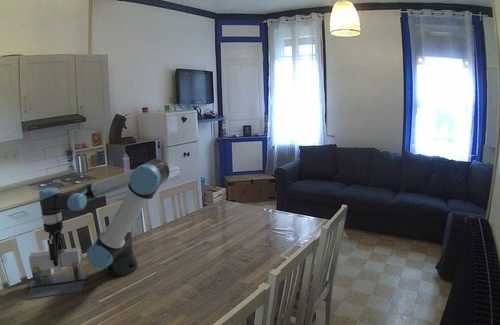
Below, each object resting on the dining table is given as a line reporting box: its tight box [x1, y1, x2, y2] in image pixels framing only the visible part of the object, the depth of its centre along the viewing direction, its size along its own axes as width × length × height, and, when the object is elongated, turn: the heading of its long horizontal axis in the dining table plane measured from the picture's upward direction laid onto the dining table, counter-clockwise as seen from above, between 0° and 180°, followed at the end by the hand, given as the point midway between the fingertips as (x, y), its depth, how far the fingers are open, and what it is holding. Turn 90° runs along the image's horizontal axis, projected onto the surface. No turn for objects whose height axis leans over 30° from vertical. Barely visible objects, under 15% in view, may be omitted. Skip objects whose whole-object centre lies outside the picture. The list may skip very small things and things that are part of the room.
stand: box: [27, 263, 89, 290], centre depth 159 cm, size 24×6×10 cm, turn 105°
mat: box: [25, 280, 86, 301], centre depth 153 cm, size 22×8×1 cm, turn 105°
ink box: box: [29, 249, 55, 279], centre depth 165 cm, size 8×5×12 cm, turn 105°
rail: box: [28, 247, 82, 272], centre depth 158 cm, size 20×4×7 cm, turn 105°
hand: (59, 267), depth 159 cm, fingers open, 6 cm apart
